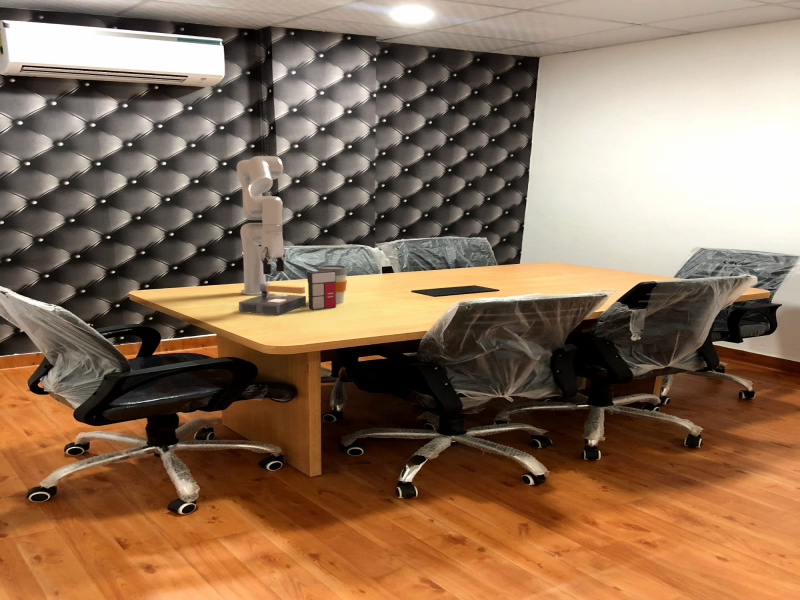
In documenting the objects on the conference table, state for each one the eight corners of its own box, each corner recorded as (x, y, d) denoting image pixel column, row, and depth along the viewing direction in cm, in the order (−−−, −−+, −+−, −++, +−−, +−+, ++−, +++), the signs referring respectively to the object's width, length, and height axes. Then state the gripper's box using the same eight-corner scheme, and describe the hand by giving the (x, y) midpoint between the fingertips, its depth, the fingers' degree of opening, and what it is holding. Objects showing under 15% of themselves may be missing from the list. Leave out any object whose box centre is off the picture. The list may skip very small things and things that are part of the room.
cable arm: (258, 291, 303) (258, 284, 303) (262, 289, 306) (262, 283, 306) (301, 293, 296) (301, 287, 296) (305, 292, 300) (305, 285, 299)
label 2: (275, 299, 294) (275, 298, 294) (286, 300, 292) (286, 299, 292) (267, 301, 288) (267, 301, 288) (278, 302, 287) (278, 302, 287)
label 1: (276, 294, 305) (276, 294, 305) (287, 295, 303) (287, 294, 303) (269, 297, 299) (269, 296, 299) (280, 297, 298) (280, 297, 298)
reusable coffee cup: (318, 299, 317) (317, 265, 314) (347, 299, 318) (346, 265, 315) (317, 305, 304) (317, 269, 302) (348, 304, 305) (347, 268, 303)
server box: (267, 302, 309) (266, 289, 308) (306, 305, 303) (305, 292, 302) (238, 312, 289) (237, 298, 288) (279, 315, 283) (278, 301, 282)
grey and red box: (312, 310, 293) (311, 273, 290) (307, 308, 296) (307, 271, 294) (337, 307, 298) (336, 271, 296) (332, 306, 302) (331, 270, 299)
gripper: (275, 227, 295) (276, 269, 298) (252, 230, 279) (253, 275, 282) (292, 228, 293) (293, 270, 295) (269, 230, 277) (270, 275, 279)
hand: (273, 272), depth 289 cm, fingers open, 9 cm apart
